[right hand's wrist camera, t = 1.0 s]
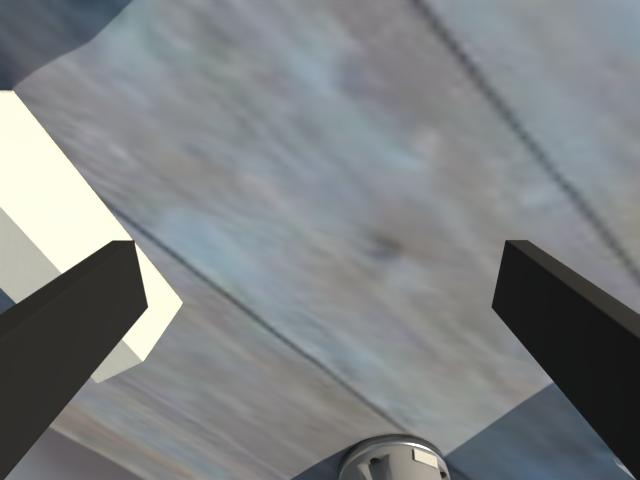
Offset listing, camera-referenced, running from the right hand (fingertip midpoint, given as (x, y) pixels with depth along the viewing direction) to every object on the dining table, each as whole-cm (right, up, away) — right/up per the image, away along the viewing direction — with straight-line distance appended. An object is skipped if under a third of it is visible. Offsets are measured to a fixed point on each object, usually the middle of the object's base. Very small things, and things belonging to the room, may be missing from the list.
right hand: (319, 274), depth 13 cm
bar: (-24, +3, +23) cm, 33 cm away
